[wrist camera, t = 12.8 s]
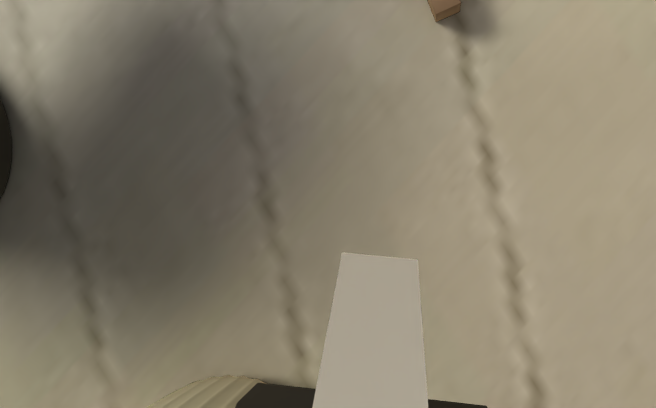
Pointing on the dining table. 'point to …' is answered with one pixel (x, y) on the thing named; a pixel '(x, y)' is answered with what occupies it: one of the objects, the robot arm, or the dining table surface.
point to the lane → (444, 8)
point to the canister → (209, 393)
